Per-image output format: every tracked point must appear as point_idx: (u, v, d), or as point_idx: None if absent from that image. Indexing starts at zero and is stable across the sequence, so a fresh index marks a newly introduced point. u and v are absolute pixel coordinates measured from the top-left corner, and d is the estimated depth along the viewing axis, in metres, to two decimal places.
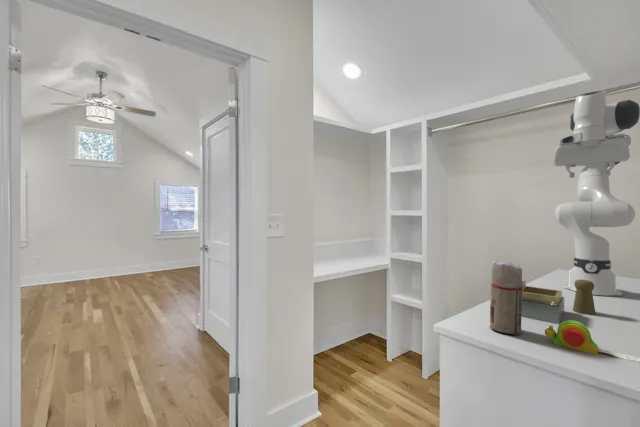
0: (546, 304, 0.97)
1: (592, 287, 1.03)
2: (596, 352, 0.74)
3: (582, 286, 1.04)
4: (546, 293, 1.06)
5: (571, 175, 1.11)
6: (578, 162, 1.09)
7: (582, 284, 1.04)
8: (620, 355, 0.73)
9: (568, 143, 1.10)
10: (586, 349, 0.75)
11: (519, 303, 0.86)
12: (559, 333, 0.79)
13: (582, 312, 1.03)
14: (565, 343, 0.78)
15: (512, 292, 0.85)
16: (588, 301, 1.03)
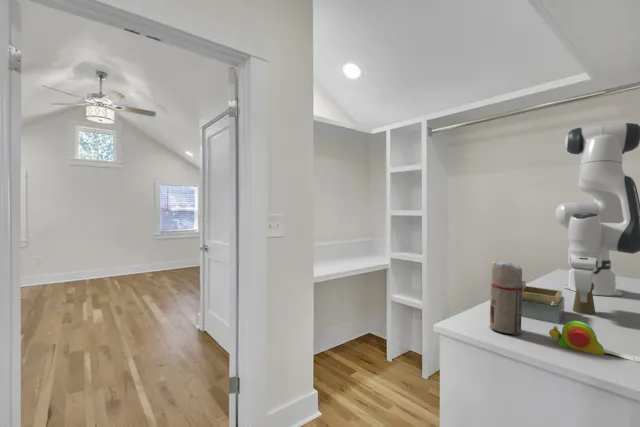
0: (546, 304, 0.97)
1: (592, 287, 1.03)
2: (602, 353, 0.74)
3: None
4: (546, 293, 1.06)
5: None
6: None
7: None
8: (625, 356, 0.73)
9: (595, 268, 0.99)
10: (591, 350, 0.75)
11: (519, 303, 0.86)
12: (564, 334, 0.78)
13: (582, 312, 1.03)
14: (570, 344, 0.77)
15: (512, 292, 0.85)
16: (588, 300, 1.03)
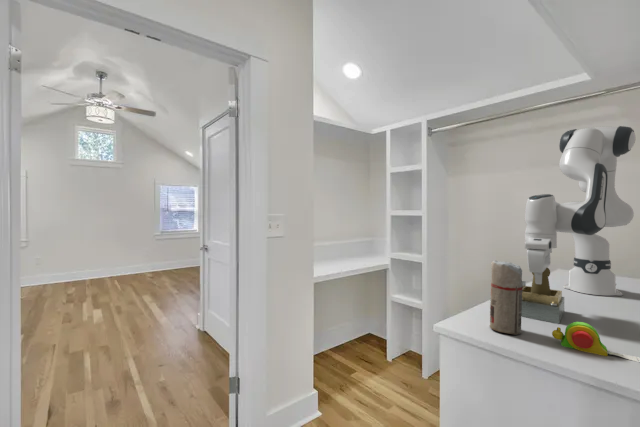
0: (546, 304, 0.97)
1: (547, 273, 1.01)
2: (605, 354, 0.73)
3: None
4: None
5: None
6: (545, 269, 1.00)
7: None
8: (629, 357, 0.72)
9: (549, 249, 0.97)
10: (595, 351, 0.74)
11: (519, 303, 0.86)
12: (567, 335, 0.78)
13: None
14: (573, 345, 0.77)
15: (512, 292, 0.85)
16: (544, 287, 1.01)
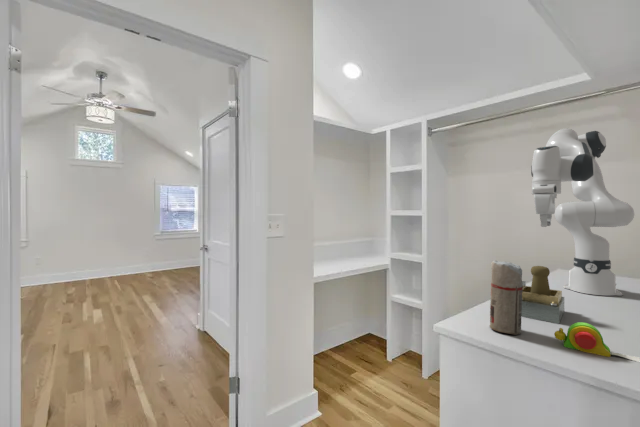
0: (546, 304, 0.97)
1: (547, 273, 1.01)
2: (608, 355, 0.73)
3: (537, 272, 1.02)
4: None
5: (547, 225, 1.10)
6: (550, 212, 1.11)
7: (537, 270, 1.02)
8: (632, 357, 0.72)
9: (554, 192, 1.08)
10: (598, 352, 0.74)
11: (519, 303, 0.86)
12: (570, 336, 0.77)
13: None
14: (576, 346, 0.76)
15: (512, 292, 0.85)
16: (543, 287, 1.01)
